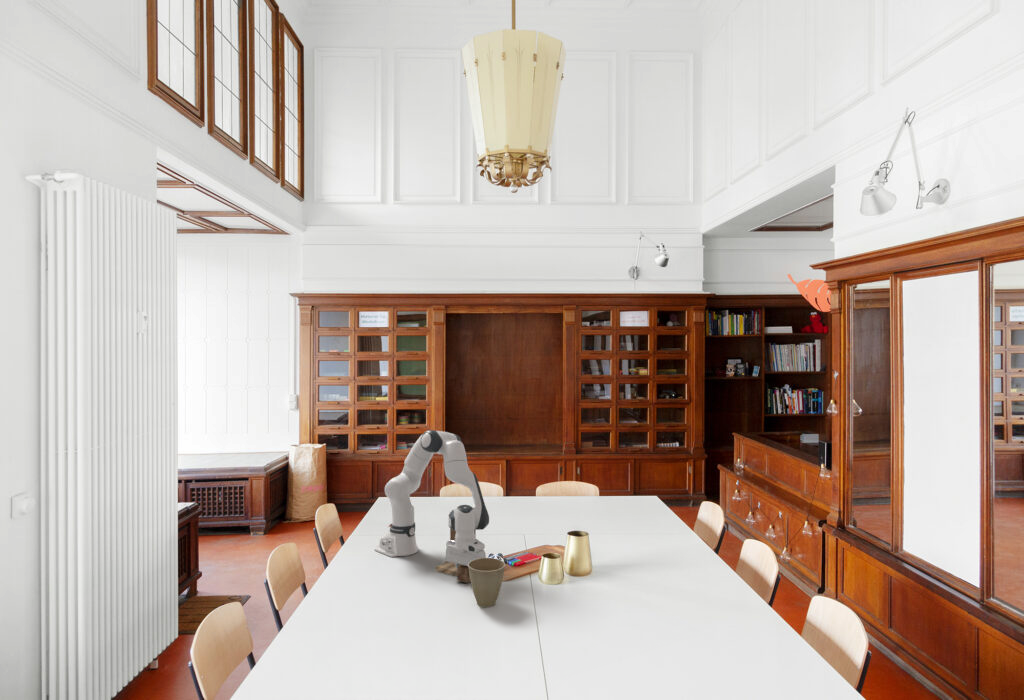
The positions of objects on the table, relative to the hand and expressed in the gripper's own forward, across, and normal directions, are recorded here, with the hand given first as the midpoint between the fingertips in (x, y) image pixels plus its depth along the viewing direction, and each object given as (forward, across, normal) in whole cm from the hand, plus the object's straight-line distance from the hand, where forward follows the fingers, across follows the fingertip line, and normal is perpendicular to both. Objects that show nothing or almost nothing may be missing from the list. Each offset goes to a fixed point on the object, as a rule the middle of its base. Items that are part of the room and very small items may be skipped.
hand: (465, 574), depth 266 cm
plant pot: (+3, +21, -14) cm, 25 cm away
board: (+3, -7, +8) cm, 11 cm away
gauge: (+3, 0, +4) cm, 5 cm away
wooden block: (+3, -16, +20) cm, 25 cm away
